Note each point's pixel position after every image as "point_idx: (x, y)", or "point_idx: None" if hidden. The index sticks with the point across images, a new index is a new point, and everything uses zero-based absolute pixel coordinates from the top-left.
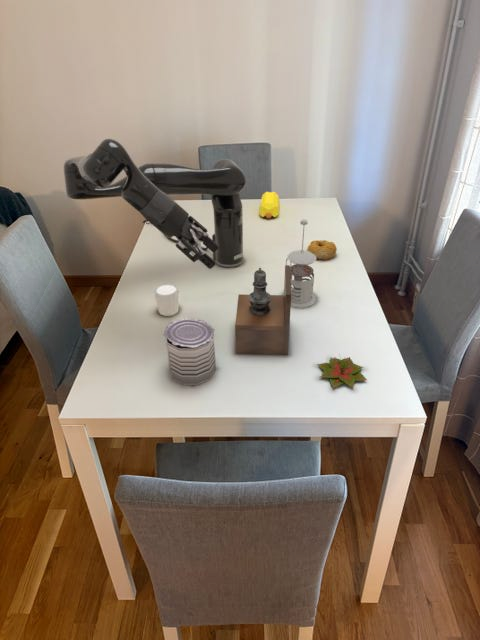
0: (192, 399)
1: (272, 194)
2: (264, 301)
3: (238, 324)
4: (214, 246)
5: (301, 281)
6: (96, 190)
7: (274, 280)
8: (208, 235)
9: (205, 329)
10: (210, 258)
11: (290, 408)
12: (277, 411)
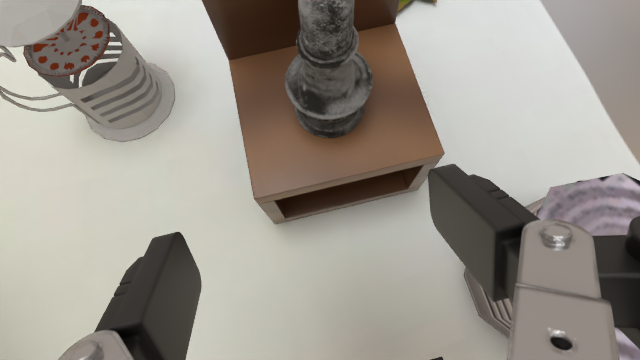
0: None
1: None
2: (355, 55)
3: (439, 144)
4: (179, 264)
5: (122, 40)
6: None
7: (32, 185)
8: (88, 338)
9: (572, 217)
10: (474, 188)
11: (543, 36)
12: (564, 56)
